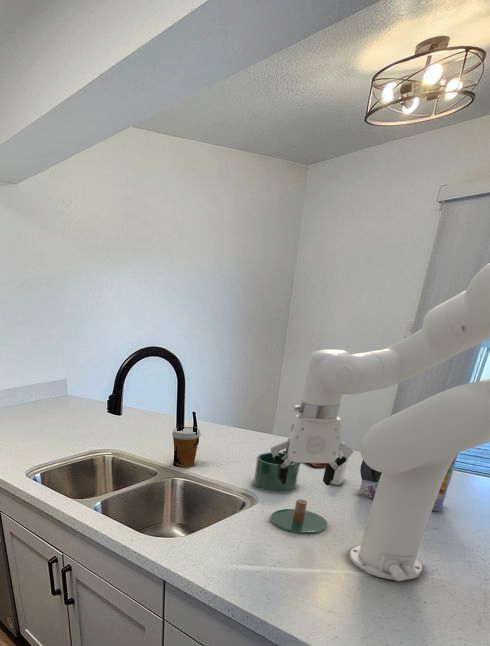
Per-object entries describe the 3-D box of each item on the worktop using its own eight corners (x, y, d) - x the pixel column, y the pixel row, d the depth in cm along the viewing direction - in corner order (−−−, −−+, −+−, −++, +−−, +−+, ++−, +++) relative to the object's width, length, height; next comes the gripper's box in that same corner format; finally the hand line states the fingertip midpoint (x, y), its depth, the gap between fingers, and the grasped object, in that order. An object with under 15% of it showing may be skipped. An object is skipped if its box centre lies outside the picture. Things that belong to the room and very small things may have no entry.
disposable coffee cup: (165, 462, 153) (166, 428, 147) (188, 458, 156) (190, 424, 150) (180, 470, 145) (181, 435, 139) (204, 465, 148) (207, 431, 142)
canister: (299, 493, 123) (304, 465, 120) (257, 492, 126) (260, 464, 122) (290, 479, 133) (295, 452, 129) (251, 478, 136) (254, 452, 132)
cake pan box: (353, 495, 121) (368, 432, 113) (358, 489, 124) (374, 428, 116) (438, 513, 108) (462, 445, 100) (442, 507, 111) (465, 440, 103)
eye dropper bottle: (349, 482, 129) (358, 443, 123) (335, 486, 127) (344, 446, 121) (336, 477, 132) (344, 439, 127) (322, 481, 130) (330, 442, 125)
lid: (332, 537, 101) (338, 513, 98) (275, 535, 103) (279, 511, 101) (317, 513, 112) (322, 491, 109) (266, 512, 114) (269, 490, 111)
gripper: (280, 414, 93) (268, 487, 101) (369, 415, 90) (349, 490, 98) (274, 406, 100) (263, 475, 108) (356, 406, 97) (338, 477, 105)
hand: (304, 482), depth 103 cm, fingers open, 9 cm apart
